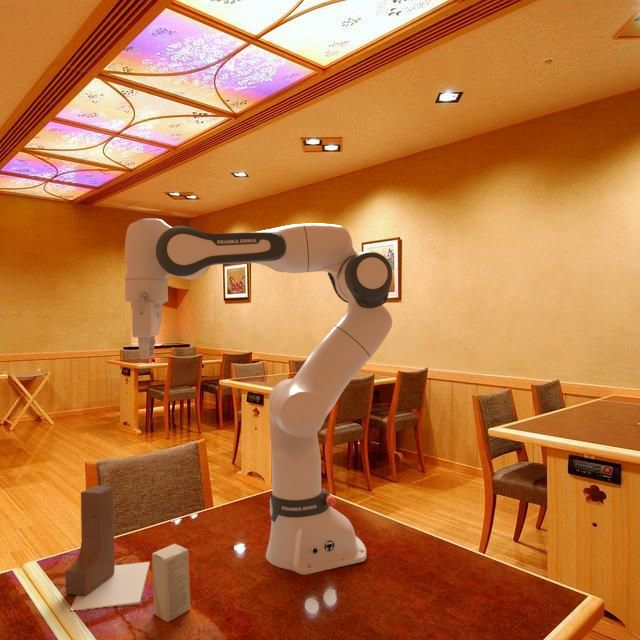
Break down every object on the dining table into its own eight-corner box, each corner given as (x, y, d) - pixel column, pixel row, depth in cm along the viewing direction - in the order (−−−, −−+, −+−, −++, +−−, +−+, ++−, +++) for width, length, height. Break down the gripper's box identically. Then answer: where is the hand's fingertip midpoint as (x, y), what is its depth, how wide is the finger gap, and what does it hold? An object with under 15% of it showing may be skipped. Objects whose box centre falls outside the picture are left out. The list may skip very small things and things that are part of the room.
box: (177, 601, 94) (176, 542, 95) (191, 609, 92) (190, 548, 92) (151, 614, 90) (151, 552, 90) (165, 623, 88) (165, 559, 88)
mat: (149, 564, 109) (149, 561, 109) (139, 604, 94) (139, 601, 94) (90, 570, 107) (90, 568, 107) (69, 613, 91) (69, 610, 91)
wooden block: (84, 597, 96) (83, 501, 96) (64, 594, 97) (63, 500, 97) (115, 574, 104) (113, 486, 104) (96, 571, 105) (95, 485, 105)
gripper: (157, 291, 101) (157, 360, 101) (165, 296, 121) (165, 354, 121) (123, 291, 100) (124, 361, 100) (137, 296, 120) (137, 354, 120)
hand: (147, 357), depth 111 cm, fingers open, 8 cm apart
